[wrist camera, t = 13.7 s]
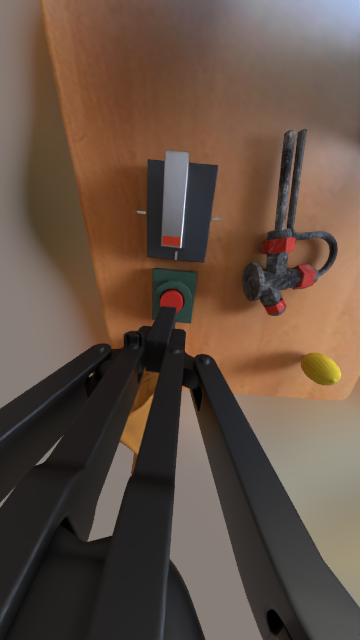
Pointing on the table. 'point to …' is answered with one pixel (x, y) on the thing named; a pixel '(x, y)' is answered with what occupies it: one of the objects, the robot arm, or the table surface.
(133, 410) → the coffee package
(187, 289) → the drain button box
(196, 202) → the base
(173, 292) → the button
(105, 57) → the table surface
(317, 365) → the lemon
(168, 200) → the tap lever
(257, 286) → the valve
